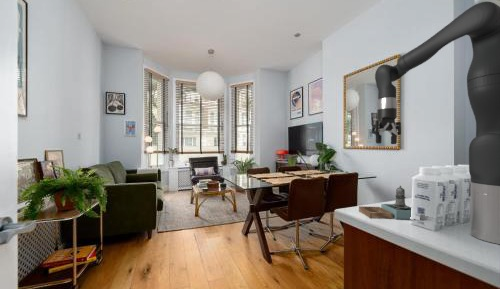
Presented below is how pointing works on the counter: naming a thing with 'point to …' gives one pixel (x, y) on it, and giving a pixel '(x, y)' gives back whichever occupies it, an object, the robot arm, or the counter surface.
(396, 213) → the teal tray
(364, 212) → the walnut socket
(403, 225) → the counter surface
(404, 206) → the salt shaker
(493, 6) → the robot arm
